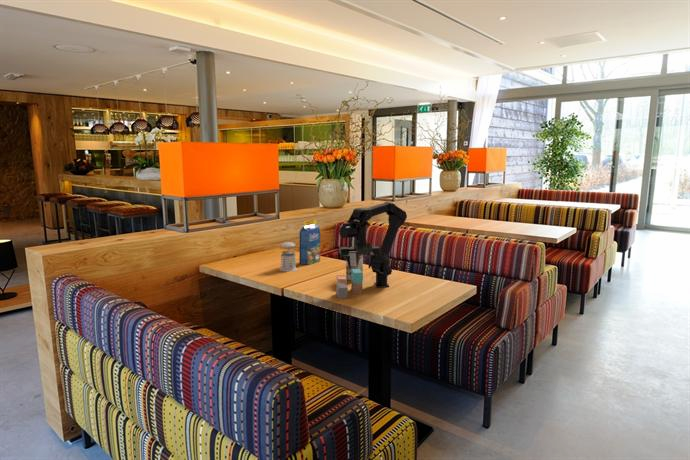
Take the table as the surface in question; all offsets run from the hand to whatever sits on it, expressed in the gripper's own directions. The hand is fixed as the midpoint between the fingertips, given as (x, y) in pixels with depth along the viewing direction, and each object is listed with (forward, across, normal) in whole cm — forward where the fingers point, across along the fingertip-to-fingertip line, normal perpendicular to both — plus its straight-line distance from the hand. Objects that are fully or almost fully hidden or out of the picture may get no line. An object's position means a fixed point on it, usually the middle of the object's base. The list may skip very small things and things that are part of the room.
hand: (359, 268), depth 211 cm
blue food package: (+11, -18, +58) cm, 61 cm away
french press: (+11, -32, +42) cm, 54 cm away
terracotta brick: (+11, -7, +8) cm, 15 cm away
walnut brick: (+11, -1, 0) cm, 11 cm away
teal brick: (+6, -1, 0) cm, 6 cm away
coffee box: (+11, +2, +22) cm, 24 cm away
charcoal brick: (+11, -9, -6) cm, 16 cm away
